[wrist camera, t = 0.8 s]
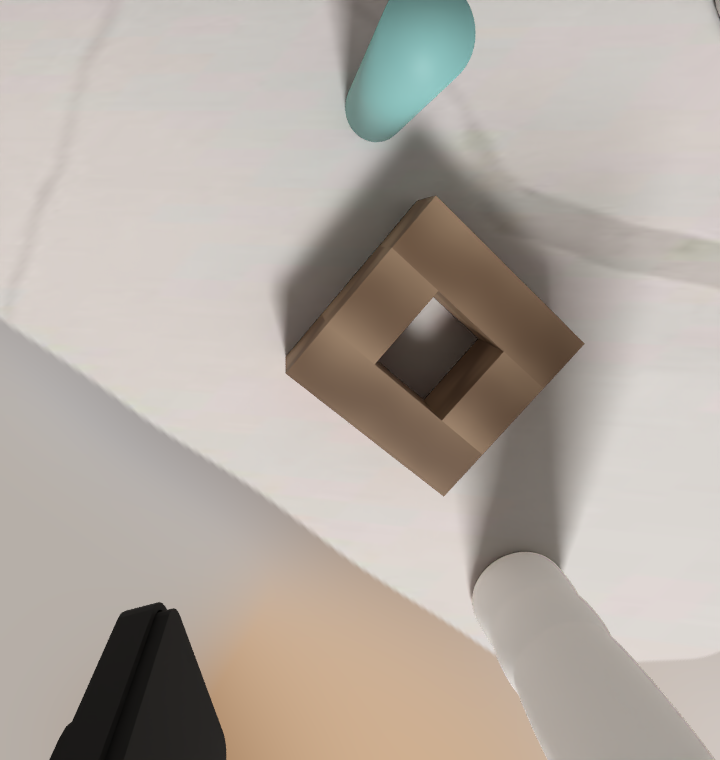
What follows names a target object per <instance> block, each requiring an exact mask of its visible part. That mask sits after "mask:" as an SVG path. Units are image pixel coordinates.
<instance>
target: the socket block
mask: <svg viewBox="0 0 720 760" xmlns="http://www.w3.org/2000/svg"><path fill="white" fill-rule="evenodd" d="M433 297H434V298H435V299H436V300H437V301H438V302H439V303H441V304H442V305H443V306H444V307H445V308H446V309H447V310H448V311H449V312H450V313H451V314H452V315H454V316H455V317H456V318H457V319H458V320H459V321H460V322H461V323H462V324H463V325H464V326H466V327H467V328H468V329H469V330H470V331H471V332H472V333H473V334H474V335H475V336H476V337H477V338H479V339H478V340H477V341H476V342H475V343H474V344H473V345H472V347H471V348H470V349H469V350H468V351H467V352H466V353H465V354H464V356H463V357H462V358H461V359H460V360H459V361H458V362H457V363H456V364H455V366H454V367H453V368H452V369H451V370H450V371H449V372H448V373H447V375H446V376H445V377H444V378H443V379H442V380H441V381H440V382H439V384H438V385H437V386H436V387H435V388H434V389H433V390H432V391H431V393H430V394H429V395H428V396H427V397H426V398H425V399H422V398H421V397H420V396H419V395H418V394H416V393H415V392H414V391H413V390H412V389H410V388H409V387H408V386H407V385H406V384H404V383H403V382H402V381H401V380H400V379H398V378H397V377H396V376H395V375H394V374H393V373H391V372H390V371H389V370H388V369H387V368H385V367H384V366H383V365H382V364H381V363H379V362H378V360H379V359H380V358H381V356H382V355H383V354H384V353H385V352H386V351H387V350H388V348H389V347H390V346H391V345H392V344H393V343H394V341H395V340H396V339H397V338H398V337H399V336H400V335H401V333H402V332H403V331H404V330H405V329H406V328H407V327H408V325H409V324H410V323H411V322H412V321H413V320H414V318H415V317H416V316H417V315H418V314H419V313H420V312H421V310H422V309H423V308H424V307H425V306H426V305H427V304H428V302H429V301H430V300H431V299H432V298H433ZM583 345H584V343H583V342H582V341H581V340H580V339H579V338H578V337H577V336H576V335H575V334H574V333H573V332H572V331H571V330H570V329H569V328H568V327H567V326H566V325H565V324H564V323H563V322H562V321H561V320H560V319H559V318H558V317H557V316H556V315H555V314H554V313H553V312H552V311H551V310H550V309H549V308H548V307H547V306H546V305H545V304H544V303H543V302H542V301H541V300H540V299H539V298H538V297H537V296H536V295H535V294H534V293H533V292H532V291H531V290H530V289H529V288H528V287H527V286H526V285H525V284H524V283H523V282H522V281H521V280H520V279H519V278H518V277H517V276H516V275H515V274H514V273H513V272H512V271H511V270H510V269H509V268H508V267H507V266H506V265H505V264H504V263H503V262H502V261H501V260H500V259H499V258H498V257H497V256H496V255H495V254H494V253H493V252H492V251H491V250H490V249H489V248H488V247H487V246H486V245H485V244H484V243H483V242H482V241H481V240H480V239H479V238H478V237H477V236H476V235H475V234H474V233H473V232H472V231H471V230H470V229H469V228H468V227H467V226H466V225H465V224H464V223H463V222H462V221H461V220H460V219H459V218H458V217H457V216H456V215H455V214H454V213H453V212H452V211H451V210H450V209H449V208H448V207H447V206H446V205H445V204H444V203H443V202H442V201H441V200H440V199H439V198H438V197H437V196H432V197H429V198H425V199H422V200H418V201H416V203H415V204H414V205H413V206H412V207H411V209H410V210H409V211H408V212H407V213H406V214H405V216H404V217H403V218H402V219H401V220H400V222H399V223H398V224H397V225H396V226H395V228H394V229H393V230H392V231H391V232H390V233H389V235H388V236H387V237H386V238H385V239H384V241H383V242H382V243H381V244H380V245H379V247H378V248H377V249H376V250H375V251H374V252H373V254H372V255H371V256H370V257H369V258H368V260H367V261H366V262H365V263H364V264H363V266H362V267H361V268H360V269H359V270H358V271H357V273H356V274H355V275H354V276H353V277H352V279H351V280H350V281H349V282H348V283H347V285H346V286H345V287H344V288H343V289H342V290H341V292H340V293H339V294H338V295H337V296H336V298H335V299H334V300H333V301H332V302H331V304H330V305H329V306H328V307H327V308H326V309H325V311H324V312H323V313H322V314H321V315H320V317H319V318H318V319H317V320H316V321H315V323H314V324H313V325H312V326H311V327H310V328H309V330H308V331H307V332H306V333H305V334H304V336H303V337H302V338H301V339H300V340H299V342H298V343H297V344H296V345H295V346H294V347H293V349H292V350H291V351H290V352H289V353H288V355H287V356H286V374H287V375H288V376H290V377H291V378H292V379H294V380H295V381H296V382H297V383H299V384H300V385H301V386H303V387H304V388H305V389H306V390H308V391H309V392H310V393H312V394H313V395H314V396H315V397H317V398H318V399H319V400H321V401H322V402H323V403H324V404H326V405H327V406H328V407H330V408H331V409H332V410H333V411H335V412H336V413H337V414H339V415H340V416H341V417H342V418H344V419H345V420H346V421H348V422H349V423H350V424H351V425H353V426H354V427H355V428H357V429H358V430H359V431H360V432H362V433H363V434H364V435H365V436H367V437H368V438H369V439H371V440H372V441H373V442H374V443H376V444H377V445H378V446H380V447H381V448H382V449H383V450H385V451H386V452H387V453H389V454H390V455H391V456H392V457H394V458H395V459H396V460H398V461H399V462H400V463H401V464H403V465H404V466H405V467H407V468H408V469H409V470H410V471H412V472H413V473H414V474H416V475H417V476H418V477H419V478H421V479H422V480H423V481H425V482H426V483H427V484H428V485H430V486H431V487H432V488H434V489H435V490H436V491H437V492H439V493H440V494H441V495H443V496H445V495H446V493H447V492H448V491H449V490H450V489H451V488H452V487H453V486H454V485H455V484H456V483H457V482H458V480H459V479H460V478H461V477H462V476H463V475H464V474H465V473H466V472H467V471H468V470H469V469H470V467H471V466H472V465H473V464H474V463H475V462H476V461H477V460H478V459H479V458H480V457H481V456H482V454H483V453H484V452H485V451H486V450H487V449H488V448H489V447H490V446H491V445H492V444H493V443H494V441H495V440H496V439H497V438H498V437H499V436H500V435H501V434H502V433H503V432H504V431H505V430H506V428H507V427H508V426H509V425H510V424H511V423H512V422H513V421H514V420H515V419H516V418H517V417H518V415H519V414H520V413H521V412H522V411H523V410H524V409H525V408H526V407H527V406H528V405H529V404H530V402H531V401H532V400H533V399H534V398H535V397H536V396H537V395H538V394H539V393H540V392H541V391H542V389H543V388H544V387H545V386H546V385H547V384H548V383H549V382H550V381H551V380H552V379H553V377H554V376H555V375H556V374H557V373H558V372H559V371H560V370H561V369H562V368H563V367H564V366H565V364H566V363H567V362H568V361H569V360H570V359H571V358H572V357H573V356H574V355H575V354H576V353H577V351H578V350H579V349H580V348H581V347H582V346H583Z"/></svg>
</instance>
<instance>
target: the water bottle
mask: <svg viewBox="0 0 720 760" xmlns="http://www.w3.org/2000/svg"><path fill="white" fill-rule="evenodd" d="M472 606H473V611H474V614H475V617H476V619H477V621H478V623H479V625H480V627H481V629H482V631H483V633H484V634H485V636H486V638H487V639H488V641H489V642H490V644H491V645H492V646H493V648H494V650H495V653H496V656H497V659H498V661H499V664H500V666H501V668H502V670H503V672H504V674H505V676H506V678H507V679H508V681H509V682H510V684H511V685H512V687H513V688H514V690H515V691H516V692H517V693H518V694H519V697H520V700H521V702H522V705H523V707H524V710H525V712H526V715H527V717H528V719H529V722H530V724H531V726H532V728H533V730H534V733H535V735H536V737H537V739H538V741H539V743H540V745H541V747H542V749H543V751H544V753H545V755H546V757H547V759H548V760H715V759H714V757H713V756H712V755H711V753H710V752H709V750H708V749H707V748H706V746H705V745H704V744H703V742H702V741H701V740H700V739H699V737H698V736H697V735H696V733H695V732H694V731H693V729H692V728H691V727H690V726H689V724H688V723H687V722H686V721H685V720H684V718H683V717H682V716H681V714H680V713H679V712H678V711H677V710H676V708H675V707H674V706H673V705H672V703H671V702H670V701H669V700H668V699H667V697H666V696H665V695H664V694H663V693H662V691H661V690H660V689H659V688H658V687H657V685H656V684H655V683H654V682H653V681H652V679H651V678H650V677H649V676H648V675H647V674H646V673H645V671H644V670H643V669H642V668H641V667H640V666H639V664H638V663H637V662H636V661H635V660H634V659H633V658H632V657H631V656H630V655H629V653H628V652H627V651H626V650H625V649H624V648H623V647H622V646H621V645H620V644H619V643H618V642H617V641H616V640H615V639H614V638H613V637H612V636H611V634H610V632H609V631H608V629H607V627H606V625H605V624H604V622H603V621H602V620H601V618H600V617H599V616H598V614H597V613H596V612H595V611H594V609H593V608H592V607H591V606H590V605H589V604H588V603H587V602H586V601H585V600H584V599H583V598H582V597H580V596H579V595H578V593H577V591H576V590H575V588H574V586H573V585H572V583H571V582H570V581H569V579H568V578H567V577H566V575H565V574H564V573H563V571H562V570H561V569H560V568H559V567H558V566H557V565H556V564H555V563H554V562H553V561H552V560H550V559H549V558H547V557H545V556H543V555H541V554H538V553H534V552H517V553H512V554H509V555H506V556H504V557H501V558H499V559H498V560H496V561H495V562H493V563H492V564H491V565H489V566H488V567H487V568H486V569H485V570H484V572H483V573H482V574H481V575H480V577H479V579H478V580H477V582H476V585H475V587H474V590H473V595H472Z"/></svg>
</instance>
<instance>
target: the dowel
mask: <svg viewBox="0 0 720 760" xmlns="http://www.w3.org/2000/svg"><path fill="white" fill-rule="evenodd" d="M474 43H475V23H474V18H473V14H472V11H471V9H470V6H469V4H468V2H467V1H466V0H389V1H388V3H387V5H386V7H385V9H384V12H383V14H382V16H381V19H380V21H379V23H378V25H377V28H376V30H375V32H374V35H373V37H372V39H371V42H370V44H369V46H368V48H367V51H366V53H365V55H364V58H363V60H362V62H361V65H360V67H359V69H358V71H357V74H356V76H355V78H354V81H353V83H352V85H351V88H350V90H349V92H348V95H347V98H346V104H345V111H346V117H347V120H348V123H349V125H350V126H351V128H352V129H353V131H354V132H355V133H356V134H357V135H358V136H360V137H361V138H363V139H365V140H367V141H371V142H382V141H386V140H388V139H390V138H391V137H393V136H394V135H395V134H396V133H398V132H399V131H400V130H401V129H402V128H403V127H404V126H405V125H406V124H407V123H408V122H409V121H410V120H411V119H412V118H414V117H415V116H416V115H417V114H418V113H419V112H420V111H421V110H422V109H423V108H424V107H425V106H426V105H427V104H428V103H430V102H431V101H432V100H433V99H434V98H435V97H436V96H437V95H438V94H439V93H440V92H441V91H442V90H443V89H444V88H445V87H447V86H448V85H449V84H450V83H451V82H452V81H453V80H454V79H455V78H456V77H457V76H458V75H459V74H460V73H461V72H462V71H463V69H464V68H465V67H466V65H467V63H468V62H469V60H470V57H471V55H472V52H473V48H474Z"/></svg>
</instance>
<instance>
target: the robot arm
mask: <svg viewBox="0 0 720 760" xmlns="http://www.w3.org/2000/svg"><path fill="white" fill-rule="evenodd" d="M715 2H716V8H717V11H718V14H719V16H720V0H715ZM50 760H226V744H225V738H224V734H223V731H222V728H221V725H220V723H219V720H218V717H217V715H216V712H215V709H214V707H213V704H212V701H211V698H210V696H209V693H208V691H207V688H206V685H205V682H204V680H203V677H202V674H201V671H200V669H199V666H198V663H197V661H196V658H195V655H194V652H193V650H192V647H191V644H190V642H189V639H188V636H187V634H186V631H185V628H184V626H183V623H182V620H181V617H180V615H179V613H178V611H177V610H176V609H169V610H167V609H166V607H165V606H164V605H163V603H160V602H158V603H154V604H150V605H146V606H143V607H139V608H135V609H131V610H127V611H124V612H122V613H121V614H120V616H119V618H118V620H117V622H116V624H115V626H114V629H113V631H112V633H111V635H110V638H109V640H108V642H107V644H106V647H105V649H104V651H103V653H102V656H101V658H100V660H99V662H98V665H97V667H96V669H95V671H94V674H93V676H92V678H91V680H90V683H89V685H88V687H87V689H86V692H85V694H84V697H83V698H82V701H81V703H80V705H79V707H78V710H77V712H76V714H75V716H74V719H73V721H72V722H71V723H70V724H69V725H68V726H66V728H65V730H64V731H63V733H62V735H61V736H60V738H59V740H58V742H57V744H56V747H55V749H54V751H53V753H52V755H51V758H50Z"/></svg>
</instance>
